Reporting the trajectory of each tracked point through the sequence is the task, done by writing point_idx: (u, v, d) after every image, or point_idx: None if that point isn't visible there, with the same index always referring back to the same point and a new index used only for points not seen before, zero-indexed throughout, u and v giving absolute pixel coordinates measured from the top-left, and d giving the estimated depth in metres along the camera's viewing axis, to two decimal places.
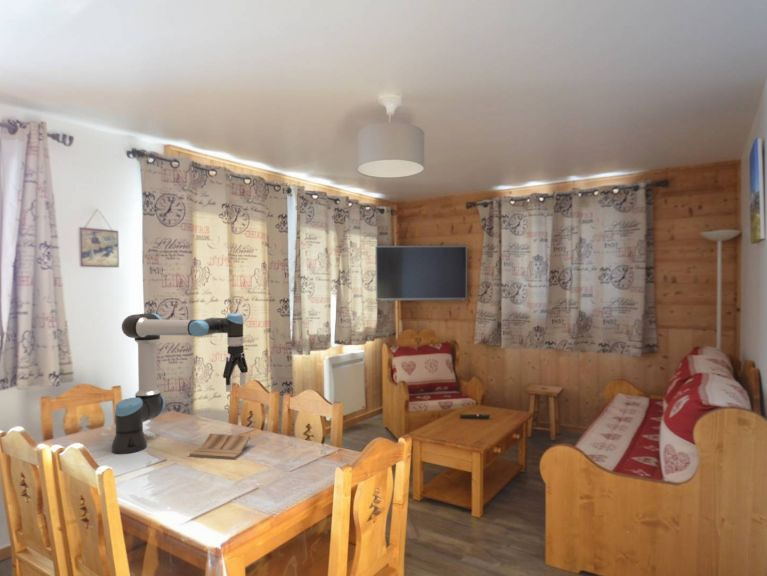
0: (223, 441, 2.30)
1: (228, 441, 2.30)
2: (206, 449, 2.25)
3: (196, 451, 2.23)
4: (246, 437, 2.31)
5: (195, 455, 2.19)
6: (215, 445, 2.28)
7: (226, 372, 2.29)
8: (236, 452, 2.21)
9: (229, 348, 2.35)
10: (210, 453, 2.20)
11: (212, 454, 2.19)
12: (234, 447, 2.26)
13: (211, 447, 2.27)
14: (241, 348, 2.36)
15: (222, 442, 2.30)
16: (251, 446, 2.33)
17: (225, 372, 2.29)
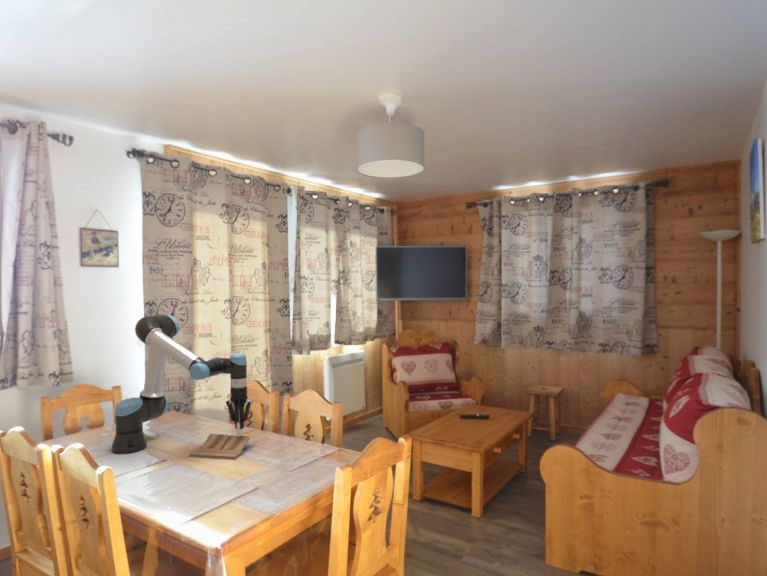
0: (223, 441, 2.30)
1: (229, 442, 2.30)
2: (206, 449, 2.25)
3: (196, 451, 2.23)
4: (246, 437, 2.31)
5: (195, 455, 2.19)
6: (215, 445, 2.28)
7: None
8: (236, 452, 2.21)
9: None
10: (210, 453, 2.20)
11: (212, 454, 2.19)
12: (234, 447, 2.26)
13: (211, 447, 2.27)
14: (233, 391, 2.29)
15: (222, 442, 2.30)
16: (251, 446, 2.33)
17: None
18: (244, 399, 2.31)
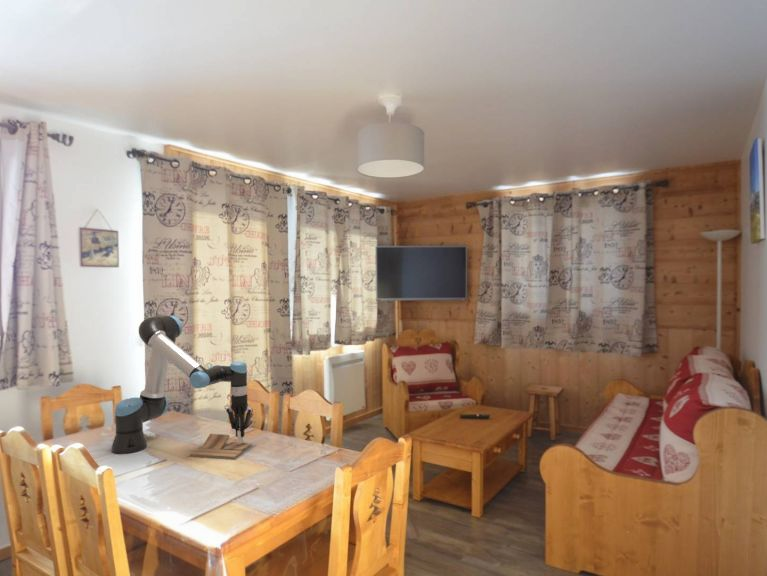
0: (223, 441, 2.30)
1: (230, 445, 2.31)
2: (206, 449, 2.25)
3: (196, 451, 2.23)
4: (248, 443, 2.32)
5: (195, 455, 2.19)
6: (215, 445, 2.28)
7: None
8: (236, 452, 2.21)
9: None
10: (210, 453, 2.20)
11: (212, 454, 2.19)
12: (235, 448, 2.27)
13: (211, 447, 2.27)
14: (233, 399, 2.29)
15: (222, 442, 2.30)
16: (251, 446, 2.33)
17: None
18: (244, 407, 2.31)
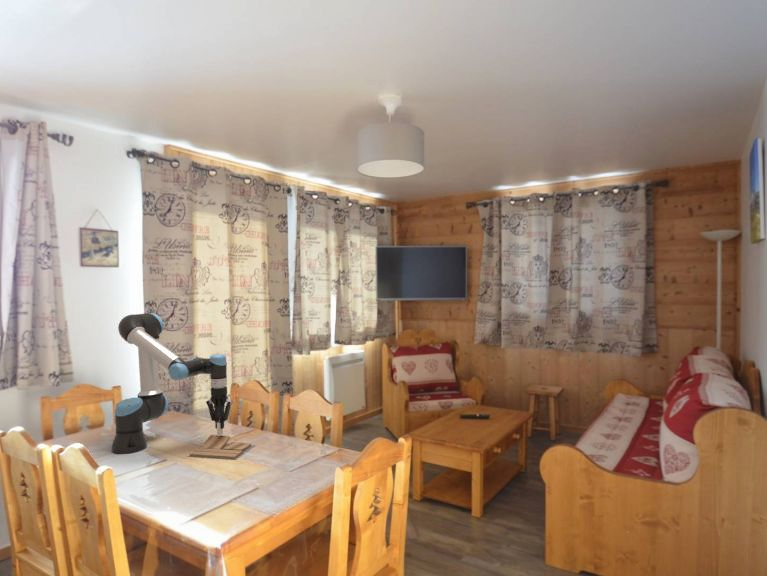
0: (223, 441, 2.30)
1: (230, 445, 2.31)
2: (206, 449, 2.25)
3: (196, 451, 2.23)
4: (248, 443, 2.32)
5: (195, 455, 2.19)
6: (215, 445, 2.28)
7: None
8: (236, 452, 2.21)
9: None
10: (210, 453, 2.20)
11: (212, 454, 2.19)
12: (235, 448, 2.27)
13: (211, 447, 2.28)
14: (213, 391, 2.31)
15: (222, 442, 2.30)
16: (251, 446, 2.33)
17: None
18: (224, 399, 2.33)
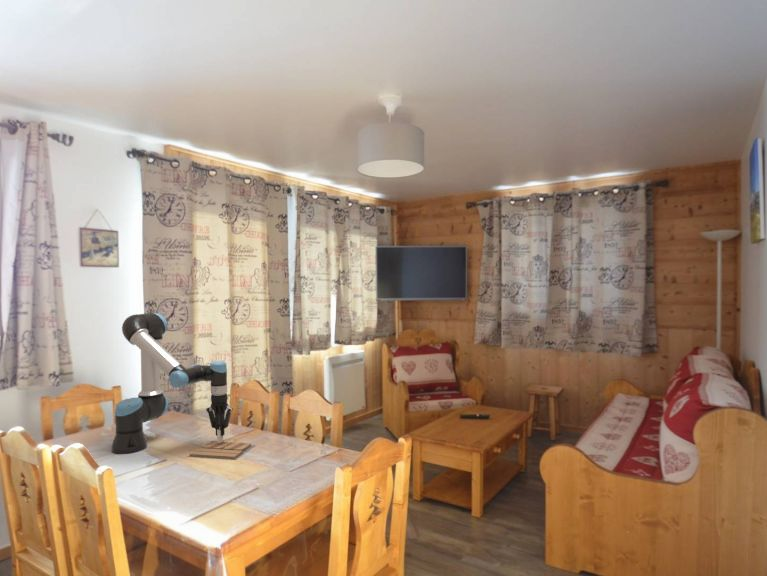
0: (224, 444, 2.31)
1: (230, 445, 2.31)
2: (206, 449, 2.25)
3: (196, 451, 2.23)
4: (248, 443, 2.32)
5: (195, 455, 2.19)
6: (216, 446, 2.29)
7: None
8: (236, 452, 2.21)
9: None
10: (210, 453, 2.20)
11: (212, 454, 2.19)
12: (235, 448, 2.27)
13: (212, 447, 2.28)
14: (213, 398, 2.31)
15: (223, 445, 2.31)
16: (251, 446, 2.33)
17: None
18: (224, 406, 2.33)
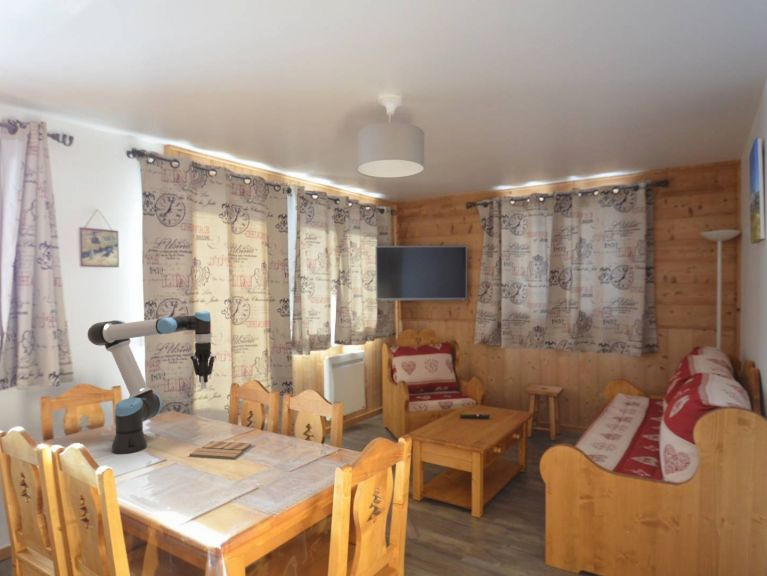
0: (224, 445, 2.31)
1: (230, 445, 2.31)
2: (206, 449, 2.25)
3: (196, 451, 2.23)
4: (248, 443, 2.32)
5: (195, 455, 2.19)
6: (216, 446, 2.29)
7: None
8: (236, 452, 2.21)
9: None
10: (210, 453, 2.20)
11: (212, 454, 2.19)
12: (235, 448, 2.27)
13: (212, 447, 2.28)
14: (197, 345, 2.41)
15: (223, 445, 2.31)
16: (251, 446, 2.33)
17: None
18: (208, 354, 2.43)
